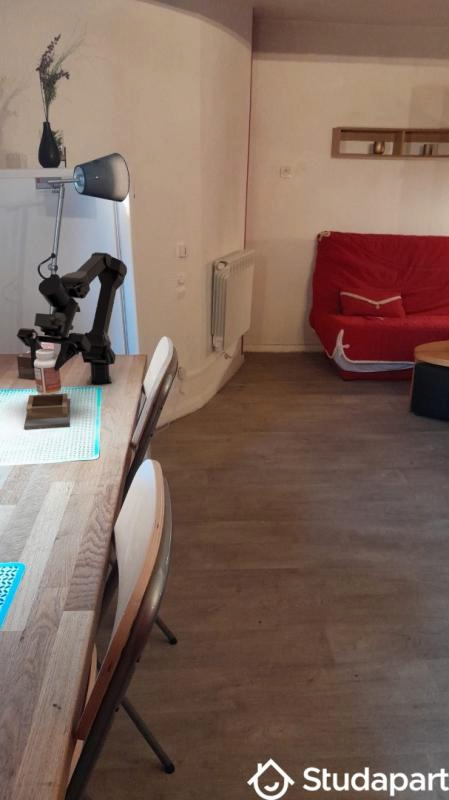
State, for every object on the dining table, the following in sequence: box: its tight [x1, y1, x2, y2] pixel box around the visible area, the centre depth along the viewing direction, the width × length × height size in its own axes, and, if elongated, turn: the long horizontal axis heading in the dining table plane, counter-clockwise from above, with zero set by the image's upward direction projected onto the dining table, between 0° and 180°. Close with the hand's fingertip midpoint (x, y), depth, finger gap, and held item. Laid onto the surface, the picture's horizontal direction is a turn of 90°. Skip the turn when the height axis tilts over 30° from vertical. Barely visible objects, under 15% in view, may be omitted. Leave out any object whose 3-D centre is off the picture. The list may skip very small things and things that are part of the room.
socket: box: [23, 392, 71, 431], centre depth 149 cm, size 18×11×4 cm, turn 14°
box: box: [16, 351, 36, 381], centre depth 178 cm, size 6×6×7 cm
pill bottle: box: [34, 348, 62, 395], centre depth 145 cm, size 6×6×11 cm
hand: (43, 368), depth 144 cm, fingers closed on pill bottle, 6 cm apart
